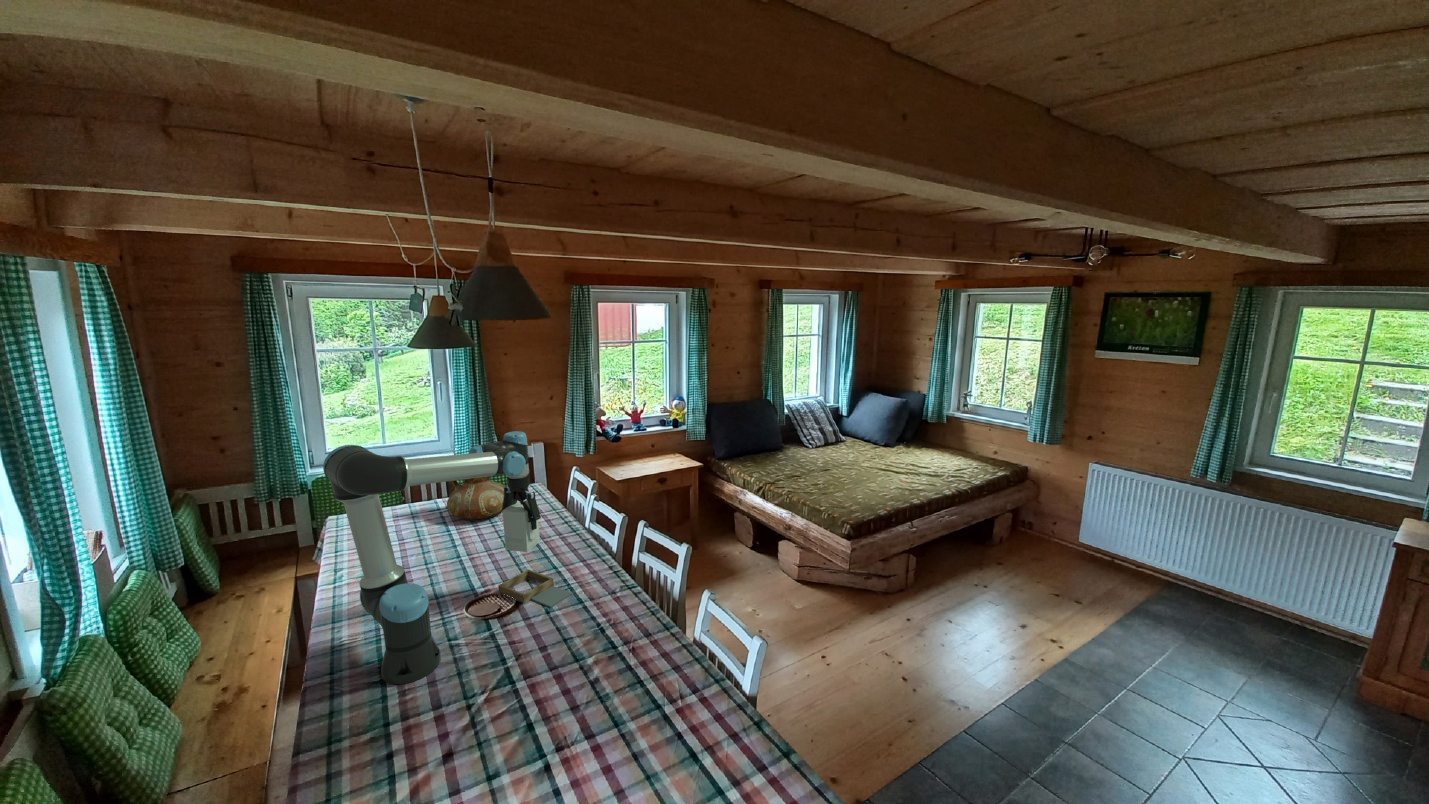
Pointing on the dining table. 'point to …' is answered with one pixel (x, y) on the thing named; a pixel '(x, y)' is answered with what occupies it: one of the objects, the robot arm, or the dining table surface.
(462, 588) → the dining table surface
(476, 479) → the jug
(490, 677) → the dining table surface
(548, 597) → the coaster
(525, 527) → the supplement box
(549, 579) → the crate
